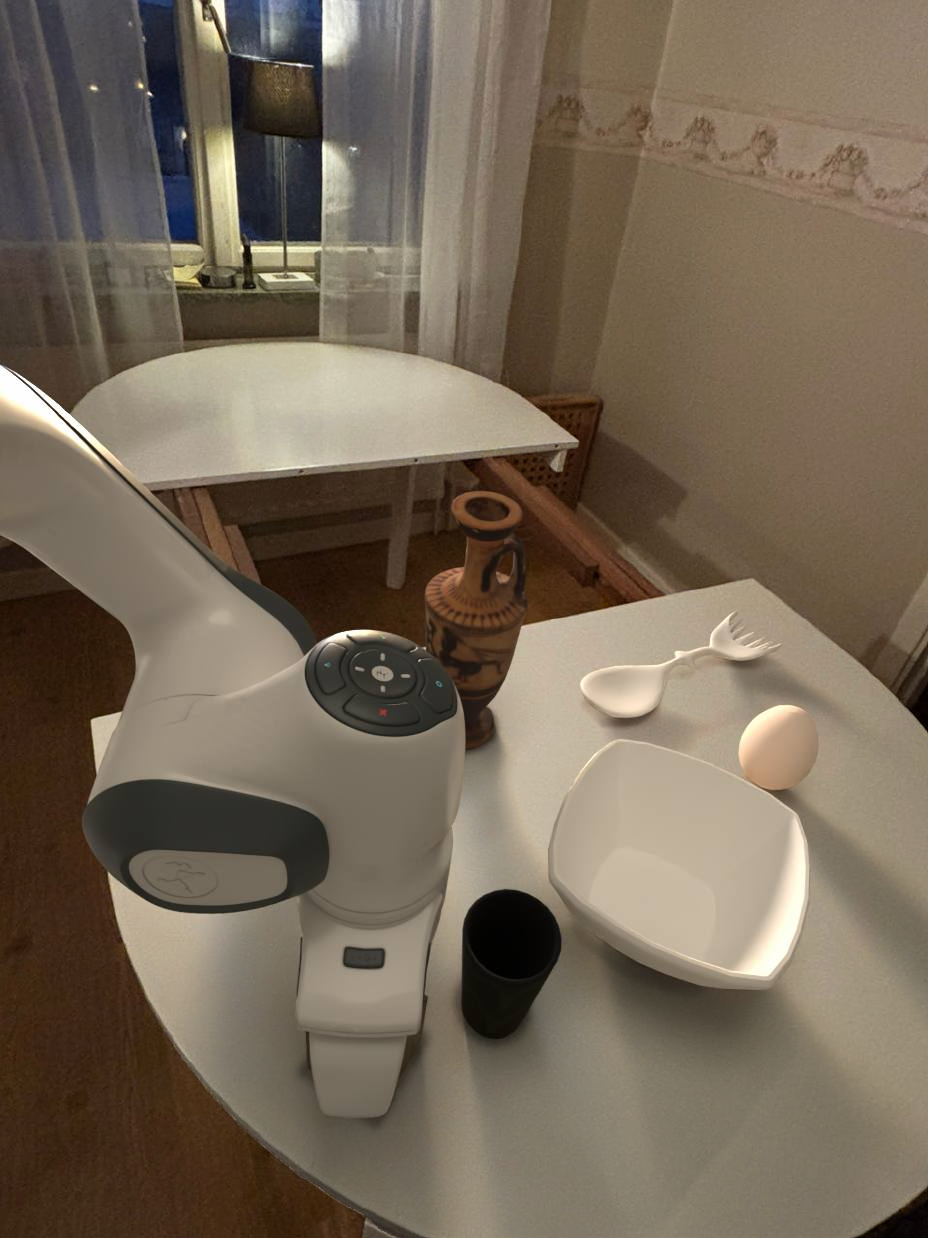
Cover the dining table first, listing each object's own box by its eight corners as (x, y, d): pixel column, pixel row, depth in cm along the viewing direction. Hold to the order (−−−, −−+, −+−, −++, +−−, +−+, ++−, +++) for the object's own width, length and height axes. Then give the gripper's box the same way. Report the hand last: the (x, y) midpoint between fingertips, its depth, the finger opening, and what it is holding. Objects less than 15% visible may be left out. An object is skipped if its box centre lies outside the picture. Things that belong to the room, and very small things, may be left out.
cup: (488, 1073, 60) (508, 1006, 52) (431, 996, 64) (442, 924, 56) (555, 1013, 64) (582, 943, 56) (497, 944, 68) (515, 871, 61)
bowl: (743, 1084, 61) (796, 1022, 54) (501, 954, 67) (519, 883, 60) (779, 876, 77) (824, 807, 70) (581, 787, 84) (603, 716, 76)
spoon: (777, 661, 105) (786, 643, 103) (608, 738, 90) (615, 718, 88) (729, 625, 111) (737, 607, 109) (563, 691, 96) (568, 672, 94)
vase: (412, 755, 85) (430, 534, 66) (416, 689, 93) (433, 476, 75) (505, 761, 86) (550, 543, 67) (501, 695, 94) (539, 486, 75)
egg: (767, 818, 83) (806, 750, 76) (713, 769, 88) (745, 701, 81) (809, 790, 87) (850, 723, 80) (755, 744, 92) (789, 678, 85)
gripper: (342, 734, 51) (342, 850, 60) (288, 1053, 35) (299, 1149, 44) (432, 740, 52) (420, 855, 60) (420, 1058, 36) (405, 1152, 44)
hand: (369, 981), depth 52 cm, fingers closed on stick, 2 cm apart
